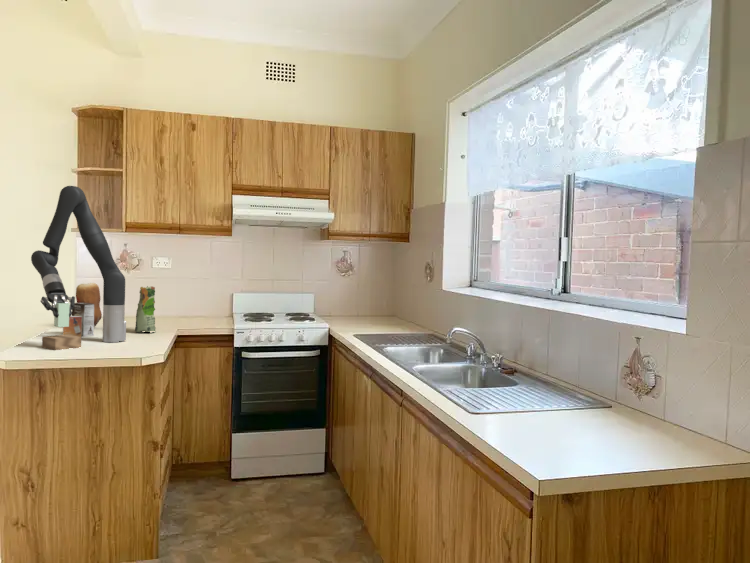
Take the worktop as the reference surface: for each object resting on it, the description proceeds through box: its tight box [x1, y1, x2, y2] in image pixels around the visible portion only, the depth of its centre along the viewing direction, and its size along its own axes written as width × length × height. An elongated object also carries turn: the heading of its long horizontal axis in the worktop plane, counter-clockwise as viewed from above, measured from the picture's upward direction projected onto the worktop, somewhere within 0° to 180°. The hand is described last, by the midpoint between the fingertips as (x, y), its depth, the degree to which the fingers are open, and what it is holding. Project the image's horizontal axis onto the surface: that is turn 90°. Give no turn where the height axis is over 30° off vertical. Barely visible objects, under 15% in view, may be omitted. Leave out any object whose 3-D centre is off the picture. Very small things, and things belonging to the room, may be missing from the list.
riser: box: [41, 334, 82, 351], centre depth 253 cm, size 11×11×5 cm
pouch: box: [134, 285, 157, 333], centre depth 310 cm, size 11×12×25 cm
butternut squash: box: [75, 282, 103, 328], centre depth 320 cm, size 14×13×25 cm
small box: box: [62, 315, 82, 338], centre depth 283 cm, size 8×6×10 cm
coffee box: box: [71, 302, 95, 337], centre depth 294 cm, size 9×6×16 cm
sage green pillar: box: [53, 302, 70, 328], centre depth 252 cm, size 4×4×10 cm
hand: (63, 316), depth 251 cm, fingers closed on sage green pillar, 4 cm apart
